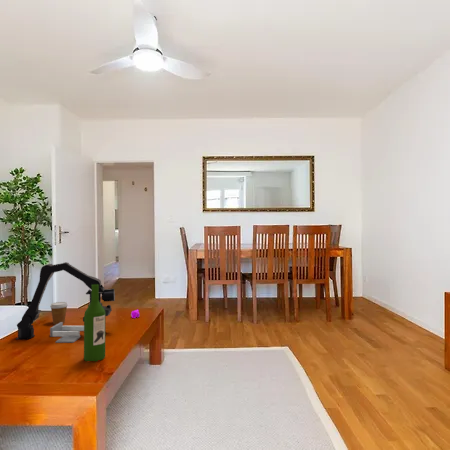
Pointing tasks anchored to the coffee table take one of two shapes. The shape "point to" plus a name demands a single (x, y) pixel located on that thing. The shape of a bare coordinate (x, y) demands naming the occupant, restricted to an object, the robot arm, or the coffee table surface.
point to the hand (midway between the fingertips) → (95, 330)
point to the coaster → (68, 339)
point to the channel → (65, 330)
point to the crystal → (135, 314)
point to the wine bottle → (94, 328)
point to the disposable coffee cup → (58, 312)
